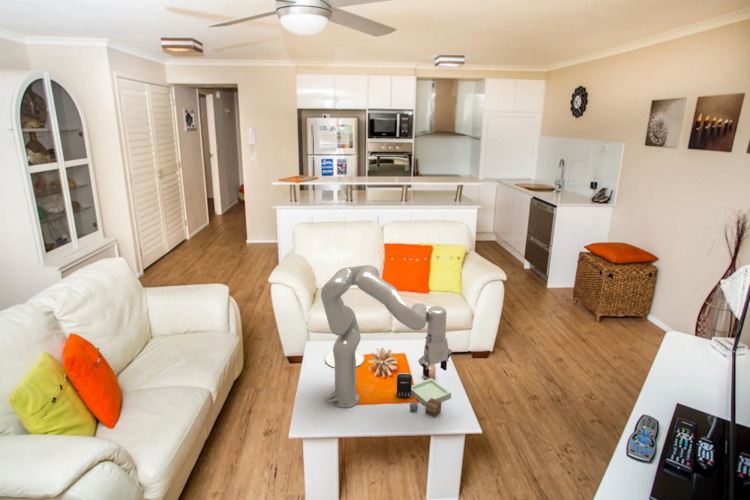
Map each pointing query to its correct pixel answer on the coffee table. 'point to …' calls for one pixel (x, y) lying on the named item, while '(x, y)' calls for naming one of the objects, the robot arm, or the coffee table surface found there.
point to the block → (433, 407)
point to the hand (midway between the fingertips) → (434, 372)
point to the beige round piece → (431, 372)
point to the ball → (413, 405)
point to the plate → (330, 362)
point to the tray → (429, 391)
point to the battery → (404, 385)
